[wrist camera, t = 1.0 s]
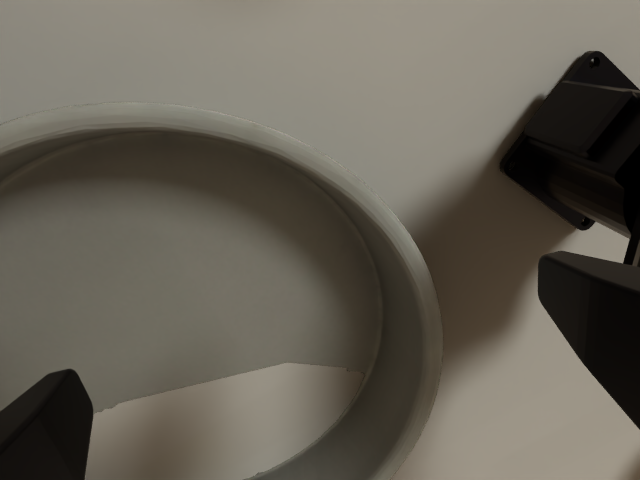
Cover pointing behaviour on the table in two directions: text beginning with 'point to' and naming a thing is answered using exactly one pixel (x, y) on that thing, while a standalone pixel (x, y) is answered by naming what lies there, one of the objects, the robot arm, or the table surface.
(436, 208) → the table surface
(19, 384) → the grey round tray
